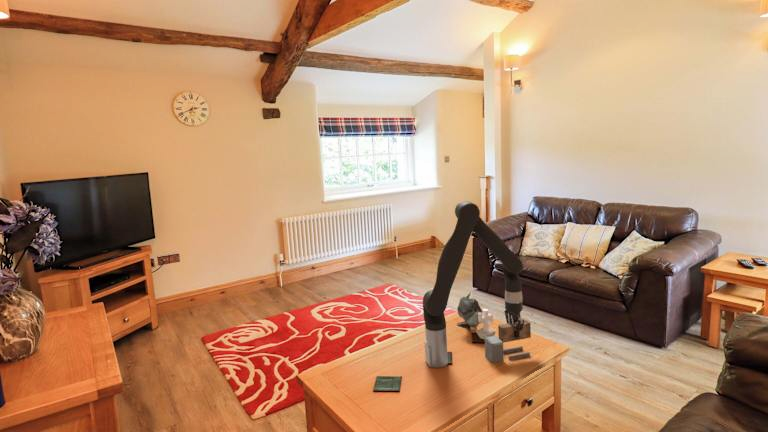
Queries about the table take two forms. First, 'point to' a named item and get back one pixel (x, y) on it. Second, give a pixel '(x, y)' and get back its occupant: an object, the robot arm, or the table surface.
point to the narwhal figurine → (469, 312)
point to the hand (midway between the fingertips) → (514, 335)
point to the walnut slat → (508, 332)
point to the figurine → (485, 324)
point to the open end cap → (516, 354)
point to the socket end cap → (494, 349)
